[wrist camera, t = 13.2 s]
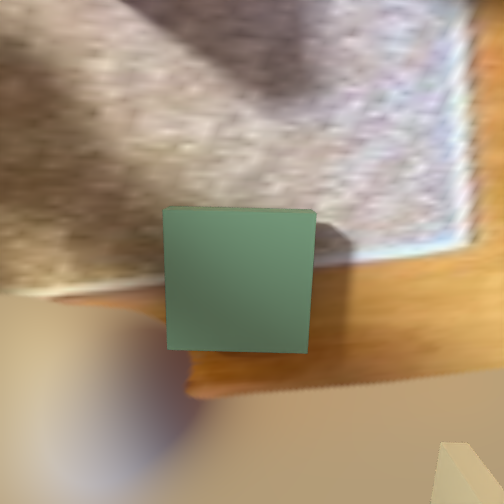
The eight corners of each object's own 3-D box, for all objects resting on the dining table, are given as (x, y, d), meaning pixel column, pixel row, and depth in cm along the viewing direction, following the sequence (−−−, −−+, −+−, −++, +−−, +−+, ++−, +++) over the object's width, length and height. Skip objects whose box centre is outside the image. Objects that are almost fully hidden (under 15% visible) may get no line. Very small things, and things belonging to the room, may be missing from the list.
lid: (178, 325, 33) (167, 349, 29) (175, 203, 30) (162, 209, 26) (300, 328, 33) (307, 353, 28) (308, 206, 30) (316, 213, 26)
